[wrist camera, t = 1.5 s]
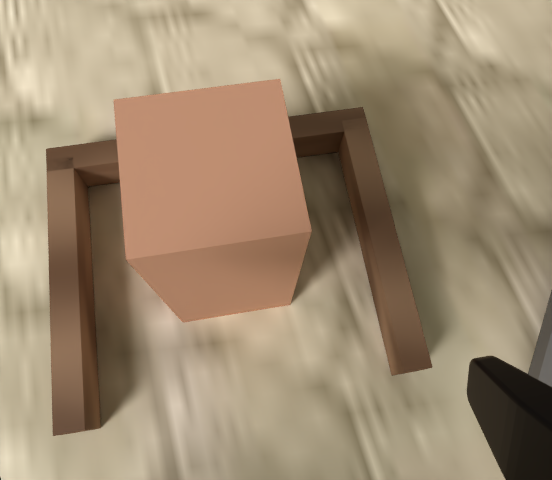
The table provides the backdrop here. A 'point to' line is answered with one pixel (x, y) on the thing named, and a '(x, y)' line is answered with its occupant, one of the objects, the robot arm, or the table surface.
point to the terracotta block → (212, 198)
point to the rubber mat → (544, 350)
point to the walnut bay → (105, 170)
